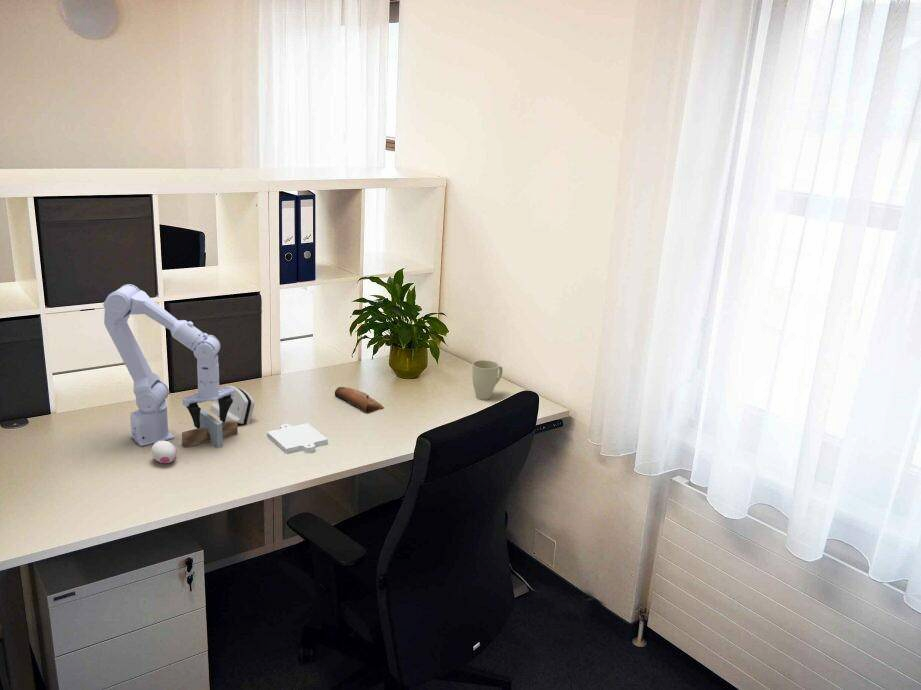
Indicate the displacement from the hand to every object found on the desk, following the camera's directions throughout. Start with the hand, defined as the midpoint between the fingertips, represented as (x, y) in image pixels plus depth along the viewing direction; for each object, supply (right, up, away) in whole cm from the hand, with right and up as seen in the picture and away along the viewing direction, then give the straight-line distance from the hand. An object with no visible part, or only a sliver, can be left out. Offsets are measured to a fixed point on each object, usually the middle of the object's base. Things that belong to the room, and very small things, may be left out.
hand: (210, 424), depth 221 cm
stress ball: (-8, -9, -12) cm, 17 cm away
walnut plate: (0, -5, +2) cm, 5 cm away
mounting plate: (+24, -6, +5) cm, 25 cm away
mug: (+80, +5, +48) cm, 93 cm away
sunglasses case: (+38, +3, +35) cm, 52 cm away
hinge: (+1, 0, +18) cm, 18 cm away
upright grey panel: (0, -5, +1) cm, 5 cm away
